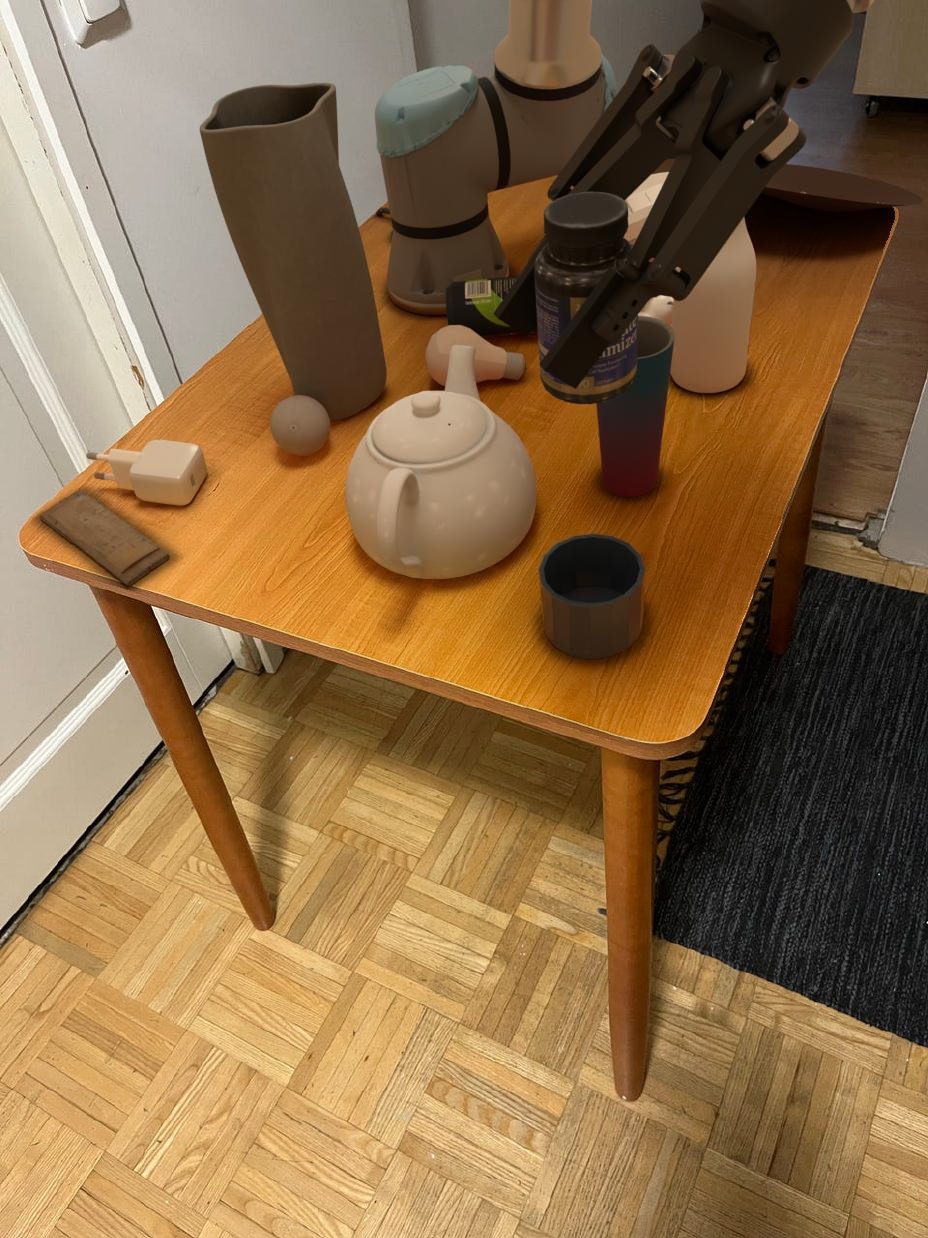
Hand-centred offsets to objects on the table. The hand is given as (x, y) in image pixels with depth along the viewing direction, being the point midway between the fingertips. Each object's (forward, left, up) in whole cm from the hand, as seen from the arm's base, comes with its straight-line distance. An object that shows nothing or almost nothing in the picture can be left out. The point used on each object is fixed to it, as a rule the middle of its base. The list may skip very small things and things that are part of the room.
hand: (533, 349), depth 57 cm
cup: (-13, +16, -26) cm, 34 cm away
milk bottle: (-23, +32, -26) cm, 48 cm away
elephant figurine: (-28, +29, -22) cm, 46 cm away
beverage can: (-47, +14, -23) cm, 54 cm away
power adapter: (-42, -22, -24) cm, 53 cm away
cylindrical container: (0, +4, -26) cm, 26 cm away
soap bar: (-43, +37, -19) cm, 60 cm away
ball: (-36, -11, -25) cm, 45 cm away
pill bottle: (0, +4, -4) cm, 5 cm away
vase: (-43, -2, -26) cm, 50 cm away
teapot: (-17, -1, -26) cm, 32 cm away
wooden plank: (-35, -28, -26) cm, 52 cm away
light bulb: (-37, +12, -26) cm, 47 cm away
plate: (-46, +63, -24) cm, 82 cm away
